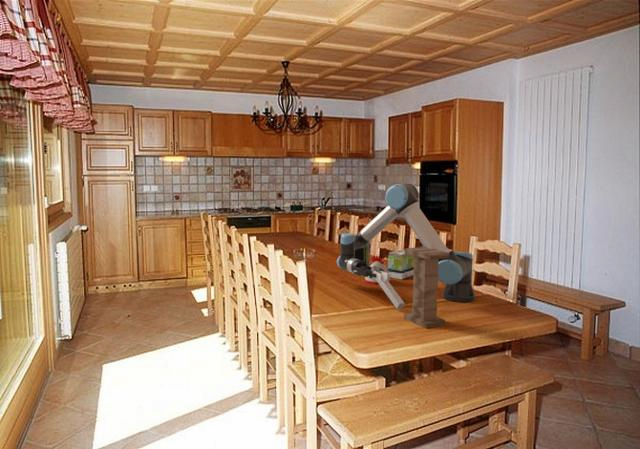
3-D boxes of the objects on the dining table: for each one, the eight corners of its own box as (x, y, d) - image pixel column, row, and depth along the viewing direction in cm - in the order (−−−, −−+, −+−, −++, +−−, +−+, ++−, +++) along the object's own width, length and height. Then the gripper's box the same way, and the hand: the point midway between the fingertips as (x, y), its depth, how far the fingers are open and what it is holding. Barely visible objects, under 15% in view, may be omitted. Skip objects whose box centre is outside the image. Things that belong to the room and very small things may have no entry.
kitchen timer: (374, 278, 280) (374, 252, 278) (394, 281, 271) (395, 255, 269) (360, 282, 269) (360, 255, 267) (381, 286, 260) (382, 259, 258)
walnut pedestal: (446, 325, 197) (449, 252, 194) (427, 329, 193) (430, 254, 189) (420, 314, 211) (423, 246, 208) (402, 317, 207) (404, 248, 203)
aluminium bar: (402, 307, 217) (404, 303, 216) (396, 308, 216) (399, 303, 214) (375, 270, 235) (377, 266, 233) (370, 271, 233) (372, 266, 231)
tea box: (402, 279, 275) (403, 254, 274) (387, 277, 281) (387, 252, 280) (414, 275, 287) (415, 250, 285) (399, 272, 293) (400, 248, 292)
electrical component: (367, 274, 289) (367, 241, 287) (350, 273, 291) (350, 240, 289) (370, 268, 306) (370, 236, 304) (354, 267, 308) (354, 236, 306)
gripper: (370, 272, 250) (398, 282, 230) (343, 275, 243) (369, 286, 222) (370, 258, 249) (398, 267, 229) (343, 261, 242) (370, 270, 221)
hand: (384, 276), depth 225 cm, fingers closed on aluminium bar, 3 cm apart
